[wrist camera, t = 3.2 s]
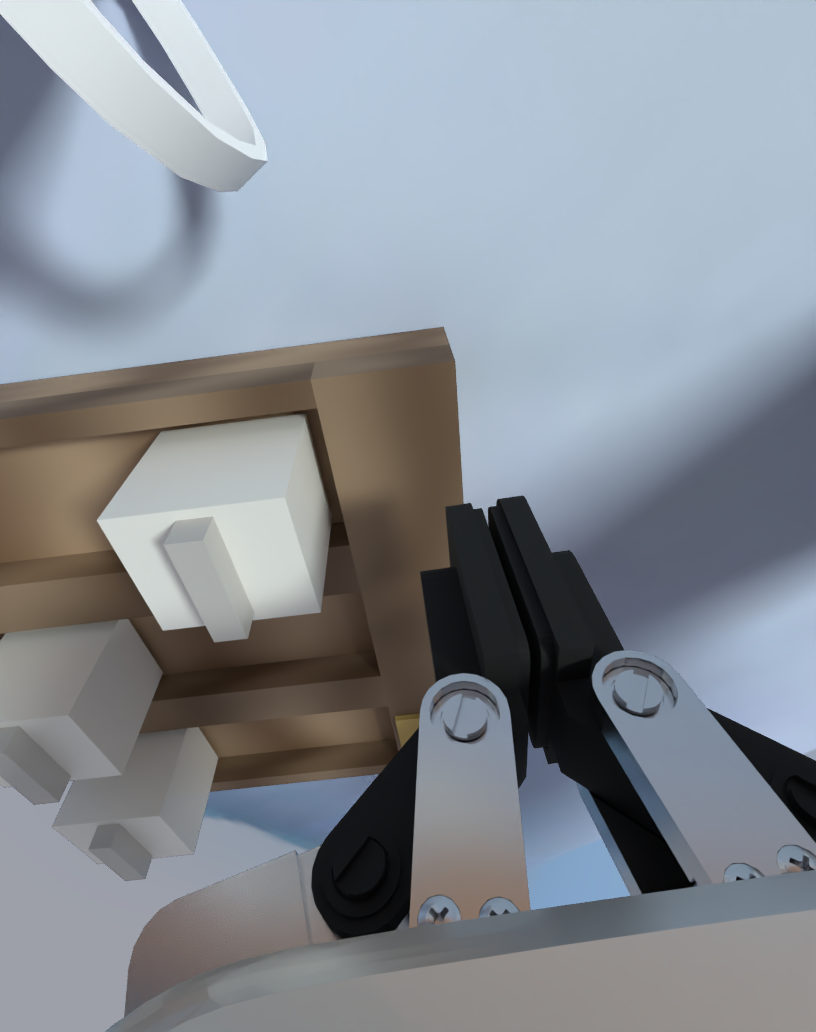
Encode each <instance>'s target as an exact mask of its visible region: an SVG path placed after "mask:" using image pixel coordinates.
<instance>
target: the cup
mask: <svg viewBox="0 0 816 1032" xmlns="http://www.w3.org/2000/svg"><path fill="white" fill-rule="evenodd" d="M132 1H133V3H134V4H135V6H136V7H137V9H138V10H139V12H140V13H141V15H142V16H143V18H144V19H145V21H146V22H147V24H148V25H149V27H150V28H151V30H152V31H153V33H154V34H155V36H156V37H157V39H158V40H159V42H160V43H161V45H162V47H163V48H164V50H165V52H166V53H167V55H168V57H169V58H170V60H171V62H172V63H173V65H174V67H175V68H176V70H177V72H178V73H179V75H180V77H181V78H182V80H183V82H184V83H185V85H186V87H187V88H188V90H189V92H190V93H191V95H192V97H193V99H194V100H195V102H196V104H197V105H198V107H199V109H200V111H201V112H202V114H203V116H204V117H203V116H202V115H201V114H200V113H199V112H198V111H197V110H196V109H195V108H193V107H192V106H191V105H190V104H189V103H188V102H187V101H186V100H185V99H184V98H183V97H182V96H181V95H180V94H179V93H177V92H176V91H175V90H174V89H173V88H172V87H171V86H170V85H169V84H168V83H167V82H166V81H165V80H164V79H163V78H162V77H160V76H159V75H158V74H157V73H156V72H155V71H154V70H153V69H152V68H151V67H150V66H149V65H148V64H147V63H146V62H144V61H143V60H142V59H141V57H140V56H139V55H138V54H137V53H136V52H135V51H134V50H133V49H132V47H131V46H130V45H129V44H128V43H127V42H126V41H125V40H124V38H123V37H122V36H121V35H120V34H119V33H118V32H117V31H116V30H115V28H114V27H113V26H112V25H111V24H110V23H109V22H108V21H107V20H106V18H105V17H104V16H103V15H102V14H101V13H100V12H99V10H98V9H97V8H96V6H95V5H94V4H93V2H92V1H91V0H0V14H1V15H2V16H3V18H4V19H5V20H6V21H7V22H8V23H9V24H10V25H11V26H12V27H13V28H14V29H15V30H16V32H17V33H18V34H19V35H20V36H21V37H22V38H23V39H24V40H25V41H26V42H27V43H28V44H29V46H30V47H31V48H32V49H33V50H34V51H35V52H36V53H37V54H38V55H39V56H40V57H41V58H42V60H43V61H44V62H45V63H46V64H47V65H48V66H49V67H50V68H51V69H52V70H53V71H54V72H55V73H56V74H57V75H58V76H59V77H60V78H61V79H62V80H63V81H65V82H66V83H67V84H68V85H69V86H70V87H71V88H72V89H73V90H74V91H75V92H76V93H77V94H78V95H79V96H80V97H81V98H82V99H83V100H84V101H85V102H86V103H88V104H89V105H90V106H91V107H92V108H93V109H94V110H95V111H96V112H97V113H98V114H99V115H100V116H101V117H102V118H103V119H104V120H105V121H106V122H107V123H108V124H110V125H111V126H112V127H113V128H115V129H116V130H117V131H119V132H120V133H121V134H123V135H124V136H125V137H127V138H128V139H130V140H131V141H132V142H134V143H135V144H136V145H138V146H139V147H140V148H142V149H143V150H144V151H146V152H147V153H148V154H150V155H151V156H152V157H154V158H155V159H156V160H158V161H159V162H160V163H162V164H163V165H165V166H166V167H167V168H169V169H170V170H171V171H173V172H174V173H175V174H177V175H178V176H179V177H181V178H184V179H186V180H189V181H192V182H194V183H197V184H200V185H202V186H205V187H208V188H210V189H213V190H216V191H218V192H232V191H238V190H239V189H240V188H241V187H242V186H243V185H244V184H245V183H246V182H247V181H248V180H249V179H250V178H251V177H252V176H253V175H254V174H255V173H256V172H257V171H258V170H259V169H260V168H261V167H262V166H263V165H264V164H265V163H266V162H267V153H266V145H265V142H264V140H263V138H262V136H261V134H260V132H259V130H258V128H257V126H256V124H255V122H254V120H253V118H252V117H251V115H250V113H249V111H248V109H247V107H246V105H245V104H244V102H243V100H242V99H241V97H240V95H239V94H238V92H237V90H236V89H235V87H234V85H233V84H232V82H231V80H230V79H229V77H228V75H227V73H226V72H225V70H224V68H223V67H222V65H221V64H220V62H219V60H218V59H217V57H216V55H215V54H214V52H213V50H212V49H211V47H210V45H209V44H208V42H207V41H206V39H205V37H204V36H203V34H202V32H201V31H200V29H199V27H198V26H197V24H196V23H195V21H194V20H193V18H192V16H191V15H190V13H189V12H188V10H187V9H186V7H185V6H184V4H183V3H182V1H181V0H132Z"/></svg>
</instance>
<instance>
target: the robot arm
mask: <svg viewBox="0 0 816 1032" xmlns="http://www.w3.org/2000/svg"><path fill="white" fill-rule="evenodd" d="M445 512H446V524H447V535H448V547H449V559H450V567H448V568H441V569H434V570H427V571H420V576H421V584H422V591H423V599H424V606H425V613H426V620H427V627H428V633H429V640H430V647H431V653H432V660H433V667H434V673H435V680H436V683H435V684H434V685H433V686H432V687H430V688H429V690H428V691H427V693H426V695H425V696H424V698H423V700H422V704H421V709H420V720H419V728H418V729H417V730H416V731H415V732H414V734H413V735H412V736H411V737H410V738H409V739H408V741H407V742H406V743H405V744H404V745H403V747H402V748H401V749H400V750H399V751H398V753H397V754H396V755H395V756H394V757H393V759H392V760H391V761H390V762H389V763H388V765H387V766H386V767H385V768H384V769H383V770H382V772H381V773H380V774H379V775H378V776H377V778H376V779H375V780H374V781H373V782H372V784H371V785H370V786H369V787H368V788H367V790H366V791H365V792H364V793H363V794H362V796H361V797H360V798H359V799H358V800H357V801H356V803H355V804H354V805H353V806H352V807H351V809H350V810H349V811H348V812H347V813H346V815H345V816H344V817H343V818H342V819H341V821H340V822H339V823H338V824H337V825H336V826H335V828H334V829H333V830H332V831H331V832H330V834H329V835H328V836H327V838H326V839H325V841H324V842H323V844H322V845H321V846H318V847H316V848H313V849H311V850H309V851H306V852H304V853H301V854H299V855H298V854H297V852H296V851H293V852H290V853H288V854H285V855H283V856H280V857H278V858H276V859H273V860H271V861H268V862H266V863H263V864H261V865H259V866H256V867H254V868H251V869H249V870H246V871H244V872H242V873H239V874H237V875H234V876H232V877H229V878H227V879H225V880H222V881H220V882H217V883H215V884H212V885H210V886H207V887H205V888H203V889H200V890H198V891H195V892H193V893H191V894H188V895H186V896H183V897H181V898H178V899H176V900H174V901H173V902H171V903H170V904H168V905H167V906H165V907H163V908H162V909H160V910H159V911H158V912H157V913H156V914H155V916H153V918H152V919H151V920H150V921H149V922H148V923H147V924H146V925H145V927H144V928H143V930H142V932H141V934H140V936H139V938H138V940H137V942H136V943H135V945H134V948H133V952H132V956H131V960H130V964H129V969H128V979H127V992H126V1003H125V1015H124V1018H122V1019H121V1020H120V1021H118V1022H117V1023H115V1024H114V1025H112V1026H111V1027H110V1028H109V1029H108V1030H106V1032H816V761H815V760H813V759H811V758H809V757H806V756H805V755H803V754H801V753H799V752H797V751H794V750H792V749H790V748H788V747H786V746H784V745H782V744H780V743H778V742H776V741H774V740H772V739H770V738H768V737H766V736H764V735H761V734H759V733H757V732H755V731H753V730H751V729H749V728H747V727H745V726H743V725H741V724H739V723H737V722H735V721H733V720H731V719H729V718H726V717H724V716H722V715H720V714H718V713H716V712H714V711H712V710H710V709H708V708H706V707H705V705H704V704H703V703H702V702H701V700H700V699H699V698H698V697H697V695H696V694H695V693H694V692H693V691H692V689H691V688H690V687H689V686H688V684H687V683H686V682H685V681H684V679H683V678H682V677H681V676H680V674H679V673H678V672H676V671H675V670H674V669H673V668H672V667H671V666H670V665H669V664H668V663H666V662H664V661H663V660H661V659H659V658H658V657H656V656H653V655H650V654H647V653H645V652H641V651H632V650H624V649H623V647H622V645H621V643H620V641H619V639H618V637H617V636H616V634H615V632H614V630H613V628H612V626H611V624H610V622H609V620H608V619H607V617H606V615H605V613H604V611H603V609H602V607H601V605H600V603H599V602H598V600H597V598H596V596H595V594H594V592H593V590H592V588H591V586H590V585H589V583H588V581H587V579H586V577H585V575H584V573H583V571H582V569H581V568H580V566H579V564H578V562H577V560H576V558H575V557H574V555H573V554H572V552H570V551H569V550H568V551H561V552H554V553H551V551H550V549H549V547H548V544H547V542H546V540H545V538H544V536H543V534H542V532H541V530H540V528H539V526H538V524H537V521H536V519H535V517H534V515H533V513H532V511H531V509H530V507H529V505H528V503H527V501H526V499H525V497H524V496H517V497H510V498H503V499H498V500H497V505H496V506H494V507H489V508H488V525H487V522H486V519H485V516H484V513H483V510H482V509H481V508H480V509H473V507H472V505H471V503H467V504H460V505H453V506H446V507H445ZM488 527H489V528H488ZM528 732H529V736H530V739H531V742H532V745H533V747H534V748H542V747H543V749H544V752H545V756H546V759H547V762H548V764H552V763H558V764H559V767H560V770H561V772H562V773H563V774H565V775H566V776H568V777H569V778H571V779H573V780H574V781H576V784H577V787H578V790H579V793H580V795H581V797H582V799H583V801H584V803H585V805H586V807H587V809H588V811H589V813H590V815H591V817H592V819H593V821H594V823H595V825H596V827H597V829H598V831H599V833H600V835H601V837H602V839H603V841H604V843H605V845H606V847H607V849H608V851H609V853H610V855H611V857H612V859H613V861H614V863H615V865H616V867H617V869H618V871H619V873H620V875H621V877H622V879H623V881H624V883H625V885H626V887H627V889H628V891H629V893H630V895H631V896H627V897H620V898H613V899H606V900H599V901H592V902H585V903H579V904H571V905H564V906H557V907H550V908H544V909H536V910H531V909H530V900H529V890H528V881H527V871H526V861H525V851H524V842H523V832H522V823H521V813H520V803H519V794H518V789H519V787H520V786H521V784H522V783H523V781H524V780H525V778H526V768H527V748H528Z"/></svg>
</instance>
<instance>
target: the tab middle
mask: <svg viewBox="0 0 816 1032" xmlns="http://www.w3.org/2000/svg"><path fill="white" fill-rule="evenodd" d="M162 674H163V672H162V670H161V669H160V667H159V666H158V664H157V663H156V661H155V660H154V658H153V656H152V655H151V653H150V652H149V650H148V649H147V647H146V646H145V644H144V643H143V641H142V640H141V638H140V636H139V635H138V633H137V632H136V630H135V629H134V627H133V626H132V624H131V623H130V621H129V619H122V620H114V621H105V622H96V623H88V624H79V625H70V626H62V627H53V628H45V629H36V630H27V631H19V632H10V633H5V635H4V636H3V637H2V639H1V640H0V785H1V786H3V787H4V788H6V787H14V788H15V789H16V790H17V791H19V792H20V793H21V794H22V795H23V796H25V797H26V798H27V799H28V800H29V801H30V802H32V803H33V804H34V805H35V804H45V803H53V802H59V801H60V798H61V796H62V794H63V792H64V790H65V788H66V786H67V784H68V782H69V781H72V780H81V779H90V778H100V777H109V776H119V775H123V772H124V770H125V767H126V765H127V762H128V760H129V757H130V755H131V752H132V749H133V747H134V744H135V742H136V739H137V737H138V734H139V732H140V729H141V727H142V724H143V722H144V719H145V717H146V714H147V712H148V709H149V707H150V704H151V702H152V699H153V697H154V694H155V692H156V689H157V687H158V684H159V681H160V679H161V676H162Z"/></svg>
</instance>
